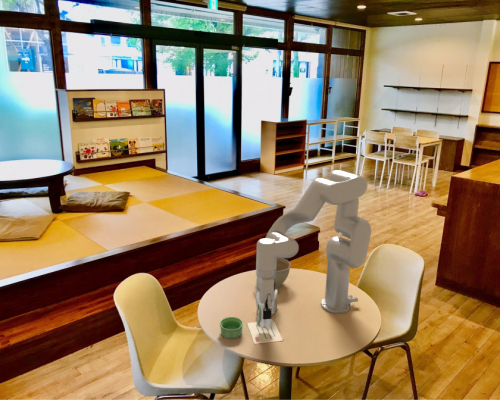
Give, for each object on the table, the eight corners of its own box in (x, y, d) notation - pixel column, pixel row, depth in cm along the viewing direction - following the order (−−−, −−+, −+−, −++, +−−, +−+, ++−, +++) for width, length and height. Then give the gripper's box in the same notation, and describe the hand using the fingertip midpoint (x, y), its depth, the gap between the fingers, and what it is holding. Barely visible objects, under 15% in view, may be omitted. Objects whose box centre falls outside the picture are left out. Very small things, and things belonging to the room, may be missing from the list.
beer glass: (262, 317, 167) (263, 283, 163) (276, 323, 163) (278, 288, 159) (251, 324, 162) (252, 289, 158) (266, 331, 158) (267, 295, 154)
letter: (273, 320, 172) (273, 320, 171) (283, 340, 158) (283, 340, 158) (247, 323, 169) (247, 322, 169) (254, 344, 156) (254, 343, 156)
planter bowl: (272, 296, 190) (273, 274, 187) (248, 283, 202) (249, 262, 198) (296, 285, 201) (297, 264, 198) (272, 273, 212) (273, 253, 209)
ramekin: (236, 324, 169) (236, 314, 168) (247, 336, 161) (247, 326, 160) (216, 330, 165) (216, 320, 163) (225, 342, 157) (225, 332, 156)
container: (274, 314, 175) (275, 286, 172) (256, 312, 177) (256, 284, 173) (277, 305, 183) (278, 278, 179) (259, 303, 184) (260, 276, 181)
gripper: (251, 262, 164) (250, 302, 169) (261, 282, 148) (260, 327, 153) (270, 260, 165) (268, 301, 170) (282, 281, 149) (280, 325, 154)
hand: (264, 313), depth 161 cm, fingers closed on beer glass, 6 cm apart
